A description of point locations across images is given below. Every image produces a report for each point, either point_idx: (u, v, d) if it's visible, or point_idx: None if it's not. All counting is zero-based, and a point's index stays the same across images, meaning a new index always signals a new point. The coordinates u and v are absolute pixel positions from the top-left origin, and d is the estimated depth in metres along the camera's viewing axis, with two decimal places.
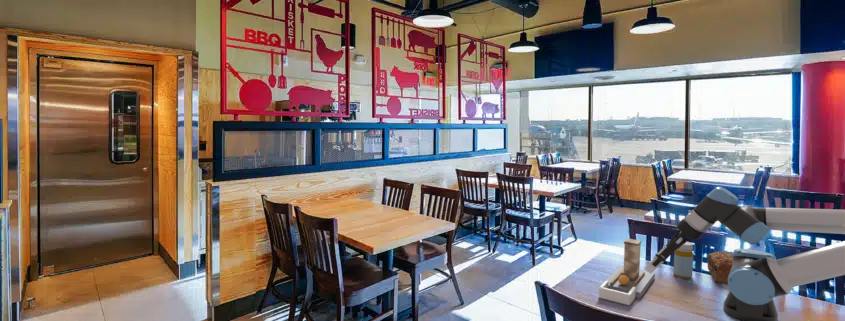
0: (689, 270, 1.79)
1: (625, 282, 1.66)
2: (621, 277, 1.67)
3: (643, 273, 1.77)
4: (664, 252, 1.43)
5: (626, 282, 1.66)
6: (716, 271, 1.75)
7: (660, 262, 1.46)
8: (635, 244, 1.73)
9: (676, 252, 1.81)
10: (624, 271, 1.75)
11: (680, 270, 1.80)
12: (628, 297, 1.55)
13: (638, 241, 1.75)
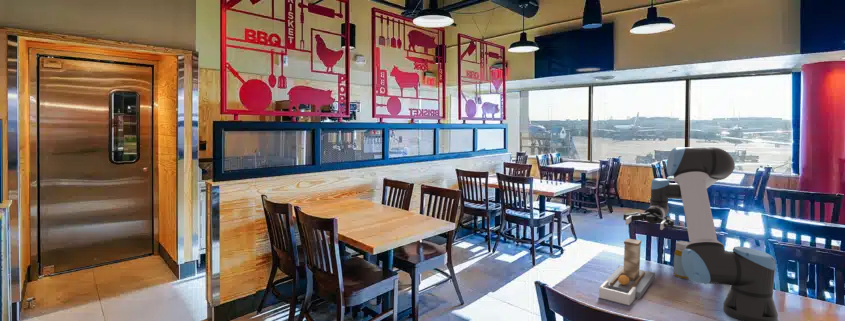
0: None
1: (625, 282, 1.66)
2: (621, 277, 1.67)
3: (643, 273, 1.77)
4: None
5: (626, 282, 1.66)
6: None
7: (629, 217, 1.90)
8: (635, 244, 1.73)
9: (676, 252, 1.81)
10: (624, 271, 1.75)
11: (680, 270, 1.80)
12: (628, 297, 1.55)
13: (638, 241, 1.75)
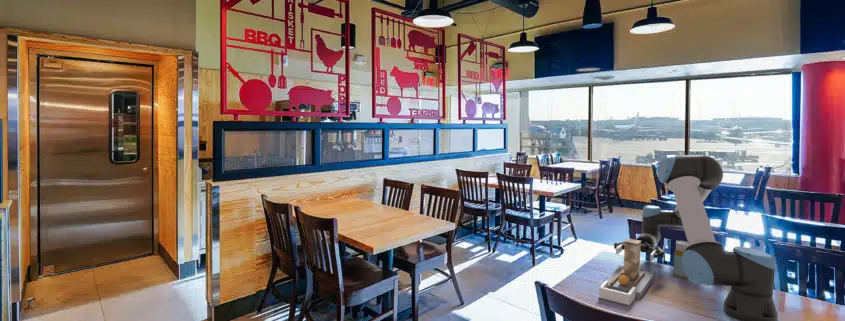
0: None
1: (625, 282, 1.66)
2: (621, 277, 1.67)
3: (643, 273, 1.77)
4: None
5: (626, 282, 1.66)
6: None
7: None
8: (635, 244, 1.73)
9: (676, 252, 1.81)
10: (624, 271, 1.75)
11: (680, 270, 1.80)
12: (628, 297, 1.55)
13: (638, 241, 1.75)
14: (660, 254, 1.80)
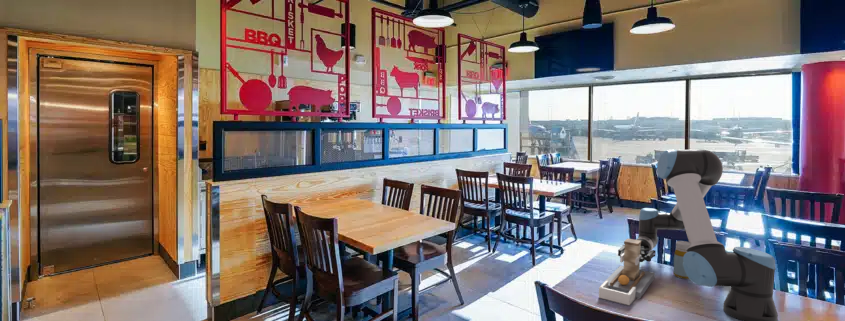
0: None
1: (625, 282, 1.66)
2: (621, 277, 1.67)
3: (643, 273, 1.77)
4: None
5: (626, 282, 1.66)
6: None
7: None
8: (635, 244, 1.73)
9: (676, 252, 1.81)
10: (624, 271, 1.75)
11: (680, 270, 1.80)
12: (628, 297, 1.55)
13: (638, 241, 1.75)
14: (646, 258, 1.75)
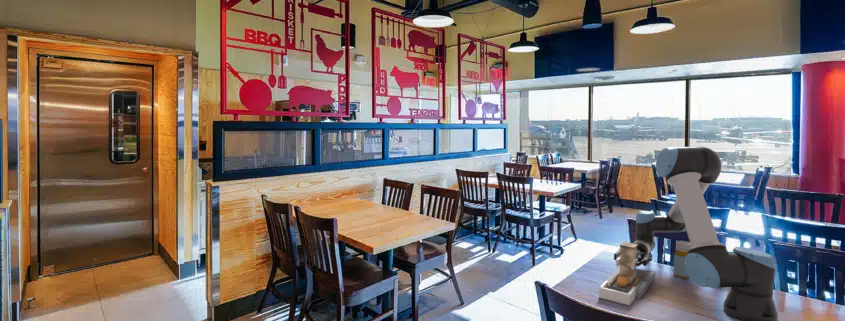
0: None
1: (624, 286, 1.65)
2: (619, 282, 1.65)
3: (643, 273, 1.77)
4: None
5: (625, 285, 1.65)
6: None
7: (619, 257, 1.74)
8: (631, 248, 1.68)
9: (676, 252, 1.81)
10: (620, 275, 1.71)
11: (680, 270, 1.80)
12: (628, 297, 1.55)
13: (634, 245, 1.70)
14: (642, 262, 1.70)
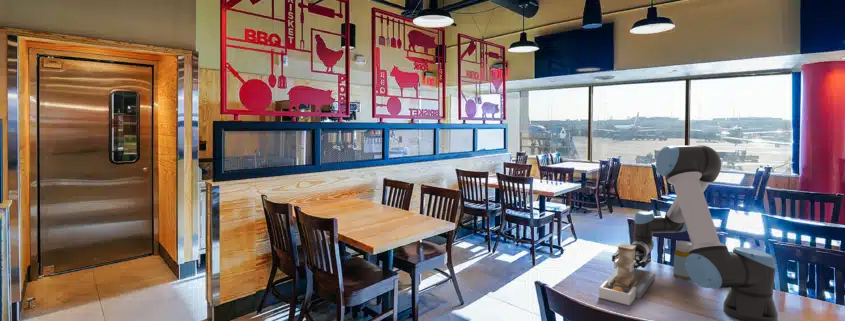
0: None
1: (621, 288, 1.62)
2: None
3: (643, 273, 1.77)
4: None
5: (622, 289, 1.61)
6: None
7: None
8: (629, 249, 1.66)
9: (676, 252, 1.81)
10: (618, 277, 1.68)
11: (680, 270, 1.80)
12: (628, 297, 1.55)
13: (633, 246, 1.68)
14: (640, 264, 1.68)
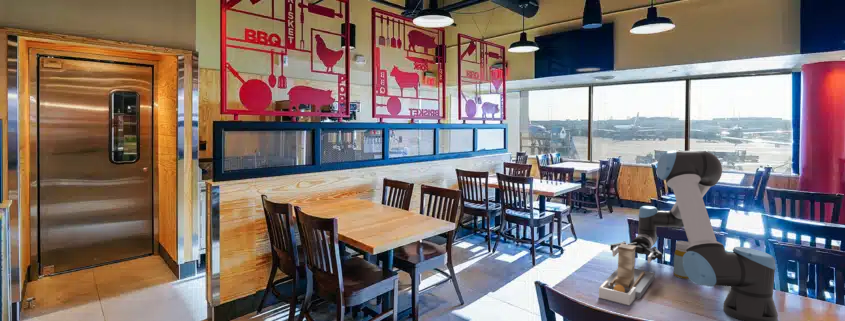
0: None
1: None
2: None
3: (643, 273, 1.77)
4: None
5: None
6: None
7: (616, 247, 1.85)
8: (629, 249, 1.66)
9: (676, 252, 1.81)
10: (618, 277, 1.68)
11: (680, 270, 1.80)
12: (628, 297, 1.55)
13: (633, 246, 1.68)
14: (657, 256, 1.76)
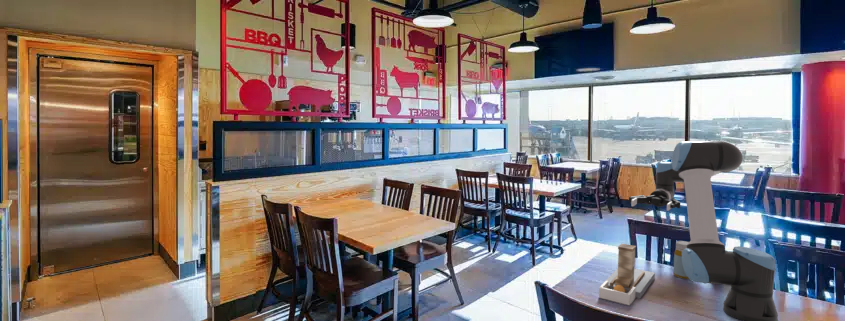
0: None
1: None
2: None
3: (643, 273, 1.77)
4: None
5: None
6: None
7: None
8: (629, 249, 1.66)
9: (676, 252, 1.81)
10: (618, 277, 1.68)
11: (680, 270, 1.80)
12: (628, 297, 1.55)
13: (633, 246, 1.68)
14: (676, 205, 1.78)
